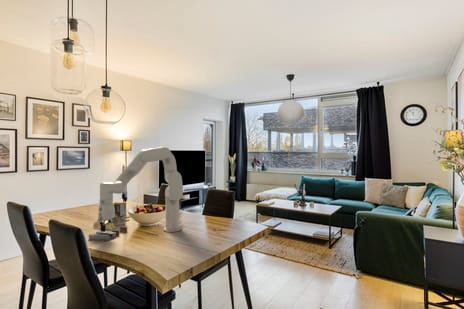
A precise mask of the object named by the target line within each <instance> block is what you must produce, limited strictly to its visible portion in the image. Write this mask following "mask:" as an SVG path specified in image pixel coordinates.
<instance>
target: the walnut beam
mask: <svg viewBox="0 0 464 309" xmlns="http://www.w3.org/2000/svg"><path fill="white" fill-rule="evenodd" d="M111 232H116V237H119V236H120V232H121V233H127V232H128V226H124V225H121V226H119V229H114V230H113V231H111Z"/></svg>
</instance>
